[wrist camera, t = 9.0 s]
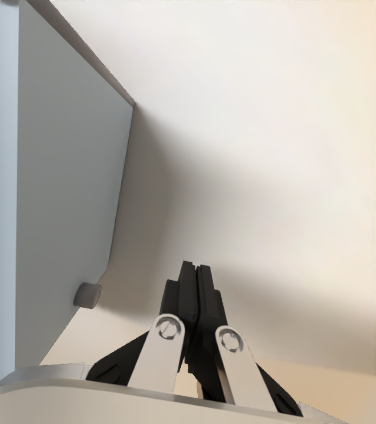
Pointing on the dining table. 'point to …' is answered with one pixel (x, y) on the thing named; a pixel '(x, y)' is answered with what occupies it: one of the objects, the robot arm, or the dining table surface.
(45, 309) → the door
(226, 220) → the dining table surface
